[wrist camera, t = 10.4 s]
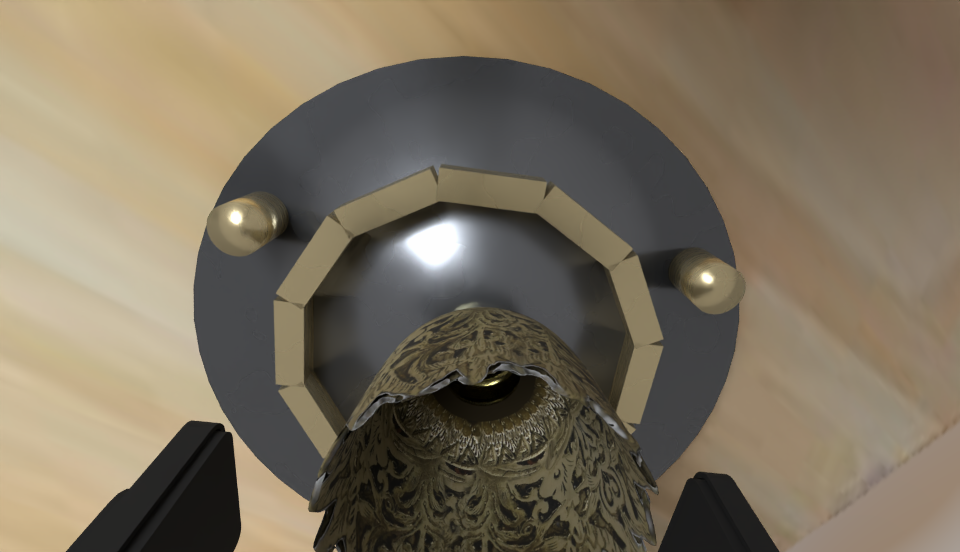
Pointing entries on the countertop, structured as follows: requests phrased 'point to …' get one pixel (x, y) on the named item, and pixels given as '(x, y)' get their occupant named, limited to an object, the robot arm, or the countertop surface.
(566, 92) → the carrier plate
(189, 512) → the robot arm
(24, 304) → the countertop surface
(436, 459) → the dark hollow rounded piece
